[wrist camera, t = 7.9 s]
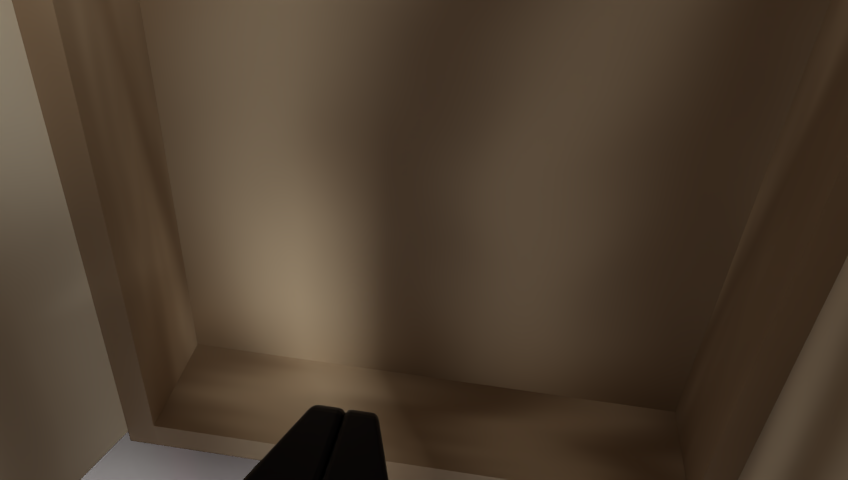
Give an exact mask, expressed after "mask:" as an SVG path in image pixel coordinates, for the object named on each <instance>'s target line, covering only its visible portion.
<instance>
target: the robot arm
mask: <svg viewBox="0 0 848 480" xmlns="http://www.w3.org/2000/svg"><path fill="white" fill-rule="evenodd" d="M243 480H388V474H387V467H386V461H385V455H384V448H383V442H382V436H381V429H380V423H379V418H378V416H377V415H376V414H375V413H372V412H365V411H358V410H348V411H347V412H346V413H345V412H344V410H343V409H341V408H338V407H331V406H324V405H314V406H312V407H310V408H309V409H308V410H307V411H306V412H305V413H304V415H303V416H302V417H301V418H300V419H299V420H298V421H297V422H296V423H295V424H294V425H293V426H292V427H291V429H290V430H289V431H288V432H287V433H286V434H285V435H284V436H283V437H282V438H281V439H280V440H279V442H278V443H277V444H276V445H275V446H274V447H273V448H272V449H271V450H270V451H269V452H268V453H267V454H266V456H265V457H264V458H263V459H262V460H261V461H260V462H259V463H258V464H257V465H256V466H255V467H254V468H253V470H252V471H251V472H250V473H249V474H248V475H247V476H246V477H245V478H244V479H243Z"/></svg>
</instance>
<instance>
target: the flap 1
mask: <svg viewBox="0 0 848 480" xmlns="http://www.w3.org/2000/svg"><path fill="white" fill-rule="evenodd" d="M127 432H128V429H127V425H126V421H125V418H124V414H123V410H122V407H121V403H120V399H119V395H118V392H117V388H116V384H115V381H114V377H113V373H112V370H111V366H110V362H109V359H108V355H107V351H106V347H105V344H104V340H103V336H102V333H101V329H100V325H99V322H98V318H97V314H96V310H95V307H94V303H93V299H92V296H91V292H90V288H89V285H88V281H87V277H86V273H85V270H84V266H83V262H82V259H81V255H80V251H79V248H78V244H77V240H76V237H75V233H74V229H73V225H72V222H71V218H70V214H69V211H68V207H67V203H66V200H65V196H64V192H63V188H62V185H61V181H60V177H59V174H58V170H57V166H56V163H55V159H54V155H53V152H52V148H51V144H50V140H49V137H48V133H47V129H46V126H45V122H44V118H43V115H42V111H41V107H40V103H39V100H38V96H37V92H36V89H35V85H34V81H33V78H32V74H31V70H30V67H29V63H28V59H27V55H26V52H25V48H24V44H23V41H22V37H21V33H20V30H19V26H18V22H17V18H16V15H15V11H14V7H13V4H12V0H0V480H80V479H81V478H82V477H83V476H84V475H85V474H86V473H87V472H88V471H89V470H90V469H91V468H92V467H93V466H94V465H95V464H96V463H97V462H98V461H99V460H100V459H101V458H102V457H103V456H104V455H105V454H106V453H107V452H108V451H109V450H110V449H111V448H112V447H113V446H114V445H115V444H116V443H117V442H118V441H119V440H120V439H121V438H122V437H123V436H124V435H125V434H126V433H127Z"/></svg>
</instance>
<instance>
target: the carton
mask: <svg viewBox="0 0 848 480" xmlns="http://www.w3.org/2000/svg"><path fill="white" fill-rule="evenodd" d="M12 4H13V7H14V11H15V15H16V18H17V22H18V26H19V30H20V33H21V37H22V41H23V44H24V48H25V52H26V55H27V59H28V63H29V67H30V70H31V74H32V78H33V81H34V85H35V89H36V92H37V96H38V100H39V103H40V107H41V111H42V115H43V118H44V122H45V126H46V129H47V133H48V137H49V140H50V144H51V148H52V152H53V155H54V159H55V163H56V166H57V170H58V174H59V177H60V181H61V185H62V188H63V192H64V196H65V200H66V203H67V207H68V211H69V214H70V218H71V222H72V225H73V229H74V233H75V237H76V240H77V244H78V248H79V251H80V255H81V259H82V262H83V266H84V270H85V273H86V277H87V281H88V285H89V288H90V292H91V296H92V299H93V303H94V307H95V310H96V314H97V318H98V322H99V325H100V329H101V333H102V336H103V340H104V344H105V347H106V351H107V355H108V359H109V362H110V366H111V370H112V373H113V377H114V381H115V384H116V388H117V392H118V395H119V399H120V403H121V407H122V410H123V414H124V418H125V421H126V425H127V429H128V432H129V436H130V440H131V441H137V442H144V443H150V444H157V445H164V446H170V447H177V448H183V449H190V450H196V451H203V452H209V453H216V454H222V455H229V456H235V457H242V458H248V459H255V460H262V459H263V458H264V457H265V456H266V454H267V453H268V452H269V451H270V450H271V449H272V448H273V447H274V446H275V445H276V444H277V443H278V442H279V440H280V439H281V438H282V437H283V436H284V435H285V434H286V433H287V432H288V431H289V430H290V429H291V427H292V426H293V425H294V424H295V423H296V422H297V421H298V420H299V419H300V418H301V417H302V416H303V415H304V413H305V412H306V411H307V410H308V409H309V408H310V407H312V406H314V405H324V406H331V407H338V408H341V409H343V410H344V412H345V413H346V412H347V411H348V410H358V411H365V412H372V413H375V414H376V415H377V416H378V418H379V423H380V429H381V436H382V442H383V448H384V455H385V461H386V467H387V474H388V480H738V478H739V476H740V474H741V472H742V470H743V468H744V466H745V464H746V462H747V460H748V458H749V456H750V454H751V452H752V450H753V448H754V446H755V444H756V442H757V440H758V438H759V436H760V434H761V432H762V429H763V427H764V425H765V423H766V421H767V419H768V417H769V415H770V413H771V411H772V409H773V407H774V405H775V403H776V401H777V399H778V397H779V395H780V393H781V391H782V389H783V387H784V385H785V383H786V381H787V379H788V376H789V374H790V372H791V370H792V368H793V366H794V364H795V362H796V360H797V358H798V356H799V354H800V352H801V350H802V348H803V346H804V344H805V342H806V340H807V338H808V336H809V334H810V332H811V330H812V328H813V326H814V324H815V321H816V319H817V317H818V315H819V313H820V311H821V309H822V307H823V305H824V303H825V301H826V299H827V297H828V295H829V293H830V291H831V289H832V287H833V285H834V283H835V281H836V279H837V277H838V275H839V273H840V271H841V268H842V266H843V264H844V262H845V260H846V258H847V256H848V0H12Z"/></svg>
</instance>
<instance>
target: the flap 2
mask: <svg viewBox="0 0 848 480" xmlns="http://www.w3.org/2000/svg"><path fill="white" fill-rule="evenodd" d="M738 480H848V256H847V258H846V260H845V262H844V264H843V266H842V268H841V271H840V273H839V275H838V277H837V279H836V281H835V283H834V285H833V287H832V289H831V291H830V293H829V295H828V297H827V299H826V301H825V303H824V305H823V307H822V309H821V311H820V313H819V315H818V317H817V319H816V321H815V324H814V326H813V328H812V330H811V332H810V334H809V336H808V338H807V340H806V342H805V344H804V346H803V348H802V350H801V352H800V354H799V356H798V358H797V360H796V362H795V364H794V366H793V368H792V370H791V372H790V374H789V376H788V379H787V381H786V383H785V385H784V387H783V389H782V391H781V393H780V395H779V397H778V399H777V401H776V403H775V405H774V407H773V409H772V411H771V413H770V415H769V417H768V419H767V421H766V423H765V425H764V427H763V429H762V432H761V434H760V436H759V438H758V440H757V442H756V444H755V446H754V448H753V450H752V452H751V454H750V456H749V458H748V460H747V462H746V464H745V466H744V468H743V470H742V472H741V474H740V476H739V478H738Z"/></svg>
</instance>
